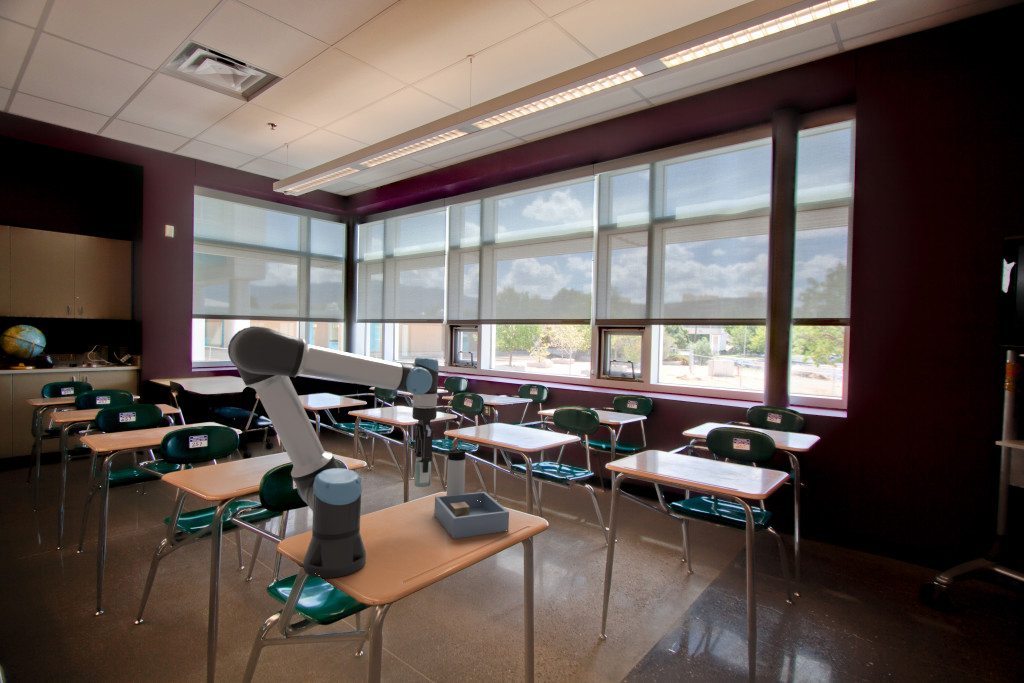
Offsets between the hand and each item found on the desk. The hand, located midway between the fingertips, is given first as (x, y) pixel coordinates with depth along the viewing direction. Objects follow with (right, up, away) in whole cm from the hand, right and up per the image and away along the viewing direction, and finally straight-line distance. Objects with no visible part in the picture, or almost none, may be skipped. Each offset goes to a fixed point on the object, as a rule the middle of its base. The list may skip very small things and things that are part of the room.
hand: (421, 479), depth 155 cm
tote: (+15, -15, +4) cm, 21 cm away
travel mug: (+8, -15, +19) cm, 26 cm away
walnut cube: (+12, -14, +2) cm, 18 cm away
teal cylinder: (0, -2, 0) cm, 2 cm away
